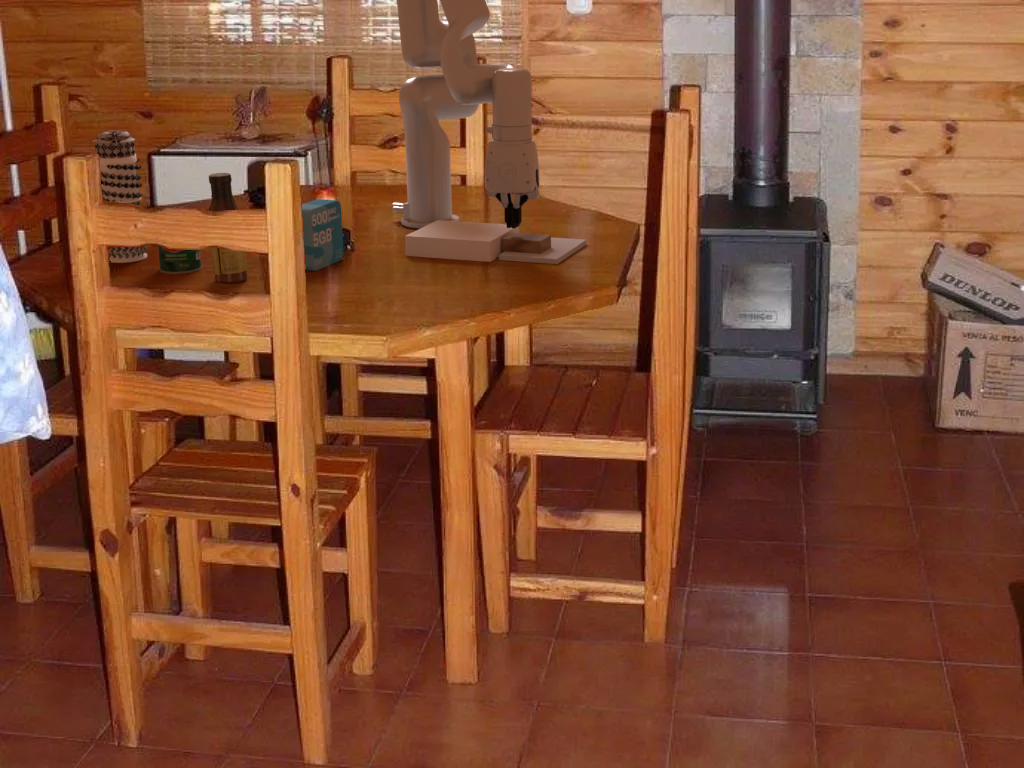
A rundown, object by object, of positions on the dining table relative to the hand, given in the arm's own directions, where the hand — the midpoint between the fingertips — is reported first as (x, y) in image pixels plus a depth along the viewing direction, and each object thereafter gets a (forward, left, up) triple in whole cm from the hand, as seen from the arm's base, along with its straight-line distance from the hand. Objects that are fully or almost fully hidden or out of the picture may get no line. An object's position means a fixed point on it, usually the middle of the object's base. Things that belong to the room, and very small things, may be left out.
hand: (513, 226), depth 292 cm
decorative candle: (-73, -26, -6) cm, 77 cm away
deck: (-11, 0, -5) cm, 12 cm away
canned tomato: (-57, -31, -6) cm, 65 cm away
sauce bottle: (-43, -36, -6) cm, 56 cm away
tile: (+3, 0, -4) cm, 5 cm away
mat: (+5, +3, -5) cm, 8 cm away
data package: (-33, -20, -6) cm, 39 cm away
